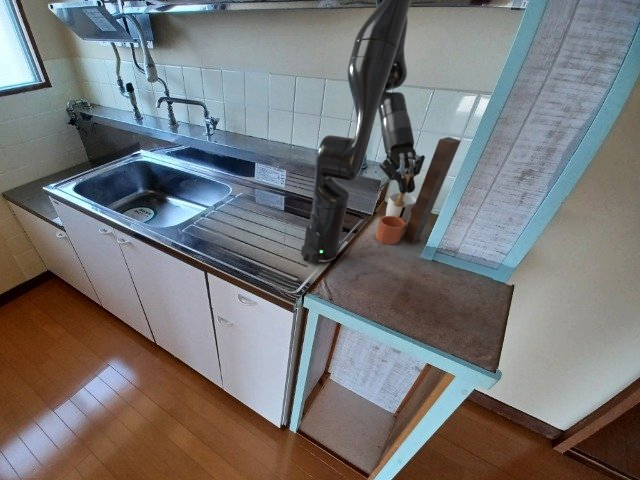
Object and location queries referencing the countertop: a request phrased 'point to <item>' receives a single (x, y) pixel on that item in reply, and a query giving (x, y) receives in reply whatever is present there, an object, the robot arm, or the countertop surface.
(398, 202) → the stick
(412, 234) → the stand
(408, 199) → the cup
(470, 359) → the countertop surface
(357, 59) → the robot arm
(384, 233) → the terracotta pot
